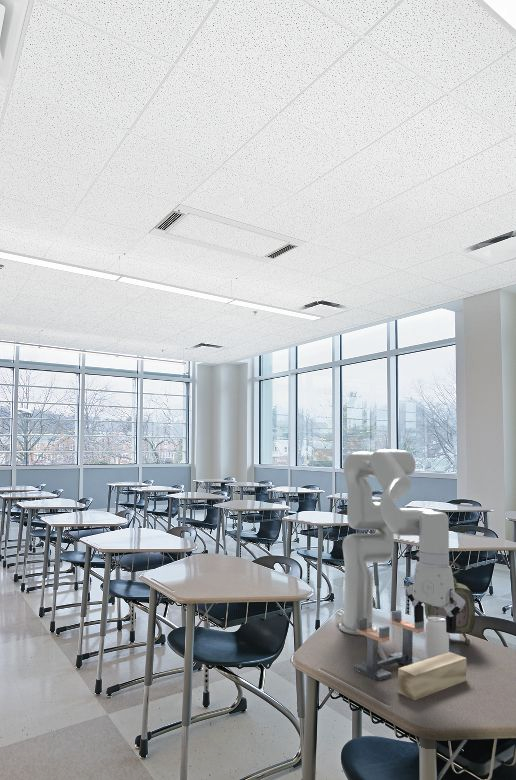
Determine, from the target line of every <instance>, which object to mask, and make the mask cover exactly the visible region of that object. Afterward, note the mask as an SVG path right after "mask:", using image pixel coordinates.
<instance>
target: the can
mask: <svg viewBox="0 0 516 780" xmlns="http://www.w3.org/2000/svg"><path fill="white" fill-rule="evenodd" d="M449 635H450V633H447V632H446V618H445V617H443V616H438V615H429V616H427V618H426V621H425V660H426V659H429V658H432V657H435V656H438V655H442V654H445V653H448V652H450V637H449Z"/></svg>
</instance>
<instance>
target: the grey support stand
mask: <svg viewBox="0 0 516 780" xmlns="http://www.w3.org/2000/svg"><path fill="white" fill-rule="evenodd" d="M391 625H394V626H397V627H399V628H402V642H401V643H402V644H401V645H402V647H401V649H402V651H399V652H398V651H397V652H395V653H390V654H389V655H388V657H387V659H385V660H382V659H381V660H379V653H378V641H379V643H385V642H390V629H391V628H390V626H388V625H384V626H381V627H379V628H378V631H379V632H378V631H377V632H376V631H373V630H371V629H368V628H367V619H366V618H361V619H357V633H359V634H362V635H361V636H363V637H364V636H365V637H366V642H367V643H366V644H367V645H366V646H367V647H366V651H367V652H366V661H364V662H360V663H357V664H354V665H353V670H354V669H356V670H355V671H357V670H358V671H357V672H359V671H360V672H359V673H361V672H362V673H361V674H363V673H364V674H363V675H365V674H366V675H365V676H367V675H368V676H367V677H369V676H371V677H372V678H371V677H370V678H371V679H373V678H375V679H374V680H375V681H378V682H380V680H381V681H384V680H387V679H389V677H390V678H392V672H390V671H387V670H385V669H384V667H387V666H390V665H394V664H397V663H399V662H400V664H401V663H402V664H401V665H404V666H406V665H410V664H413V663H417V662H420V661H423V659H420V658H418V657H415V656H414V655H413V647H414V646H413V640H414V639H413V634H414V633H416V634H419V633H424V632H425V620H424V621H423V622H419V623H415V622H414V623H412V622H408V621H406V620H404V619H402V610H399V609H397V610H393V611H391ZM386 678H387V679H386ZM383 679H384V680H383Z"/></svg>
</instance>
